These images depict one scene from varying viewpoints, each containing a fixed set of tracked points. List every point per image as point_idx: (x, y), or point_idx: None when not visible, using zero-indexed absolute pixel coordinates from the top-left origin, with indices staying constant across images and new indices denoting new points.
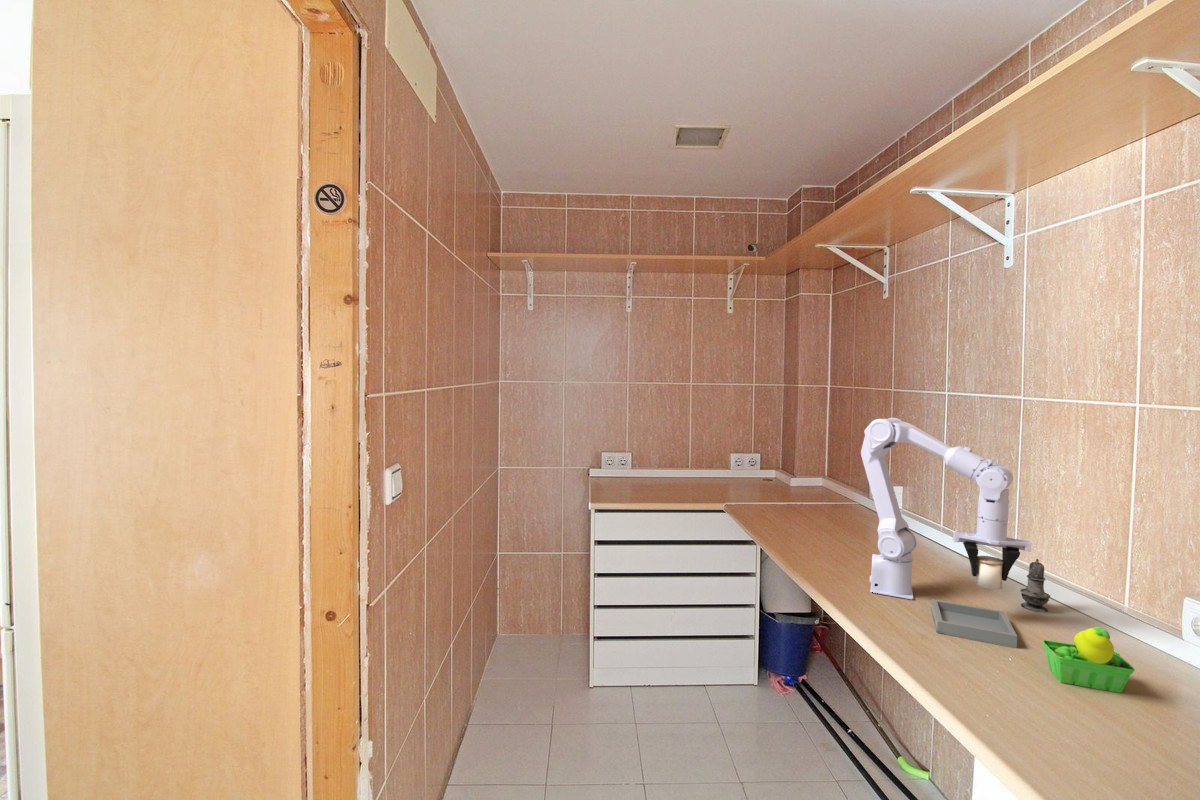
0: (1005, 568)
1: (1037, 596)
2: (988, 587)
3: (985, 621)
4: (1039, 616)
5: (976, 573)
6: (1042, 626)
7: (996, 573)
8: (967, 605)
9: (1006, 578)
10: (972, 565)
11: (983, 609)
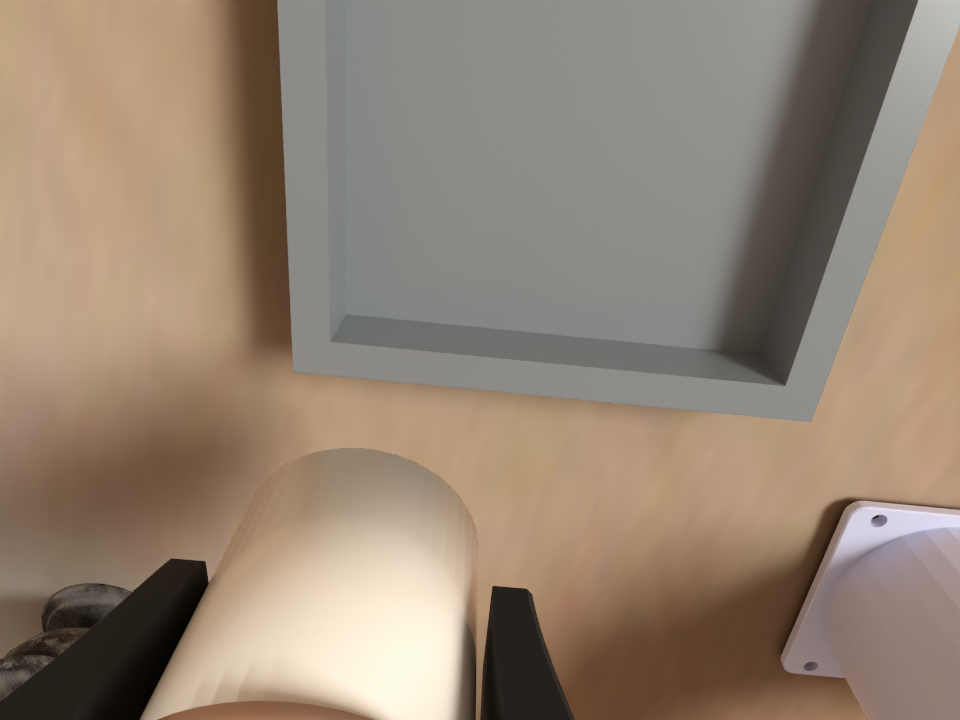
0: (85, 694)
1: (40, 668)
2: (384, 456)
3: (448, 245)
4: (89, 522)
5: (498, 611)
6: (78, 364)
7: (249, 595)
8: (551, 387)
9: (150, 579)
10: (564, 709)
11: (442, 352)
